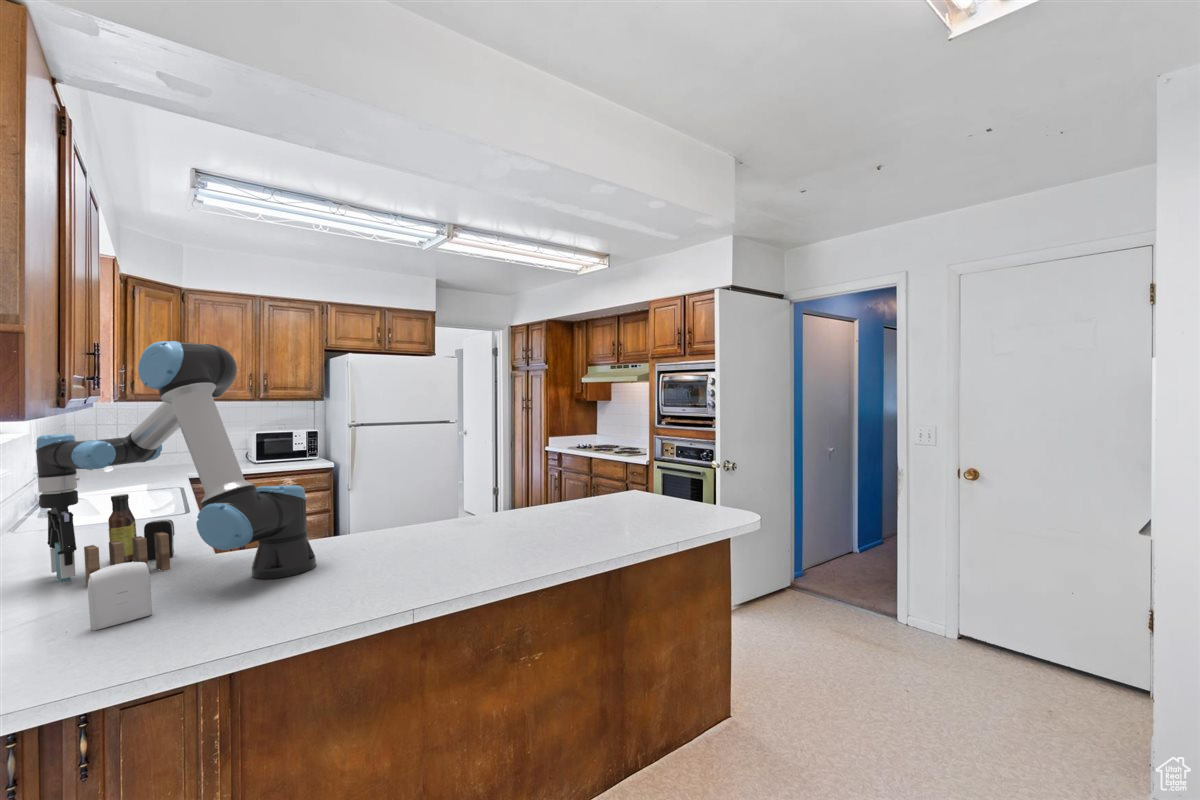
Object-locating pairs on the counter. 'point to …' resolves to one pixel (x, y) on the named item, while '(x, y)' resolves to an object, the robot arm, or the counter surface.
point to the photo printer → (119, 594)
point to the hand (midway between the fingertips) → (63, 574)
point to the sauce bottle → (122, 524)
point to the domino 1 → (58, 570)
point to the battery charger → (158, 527)
